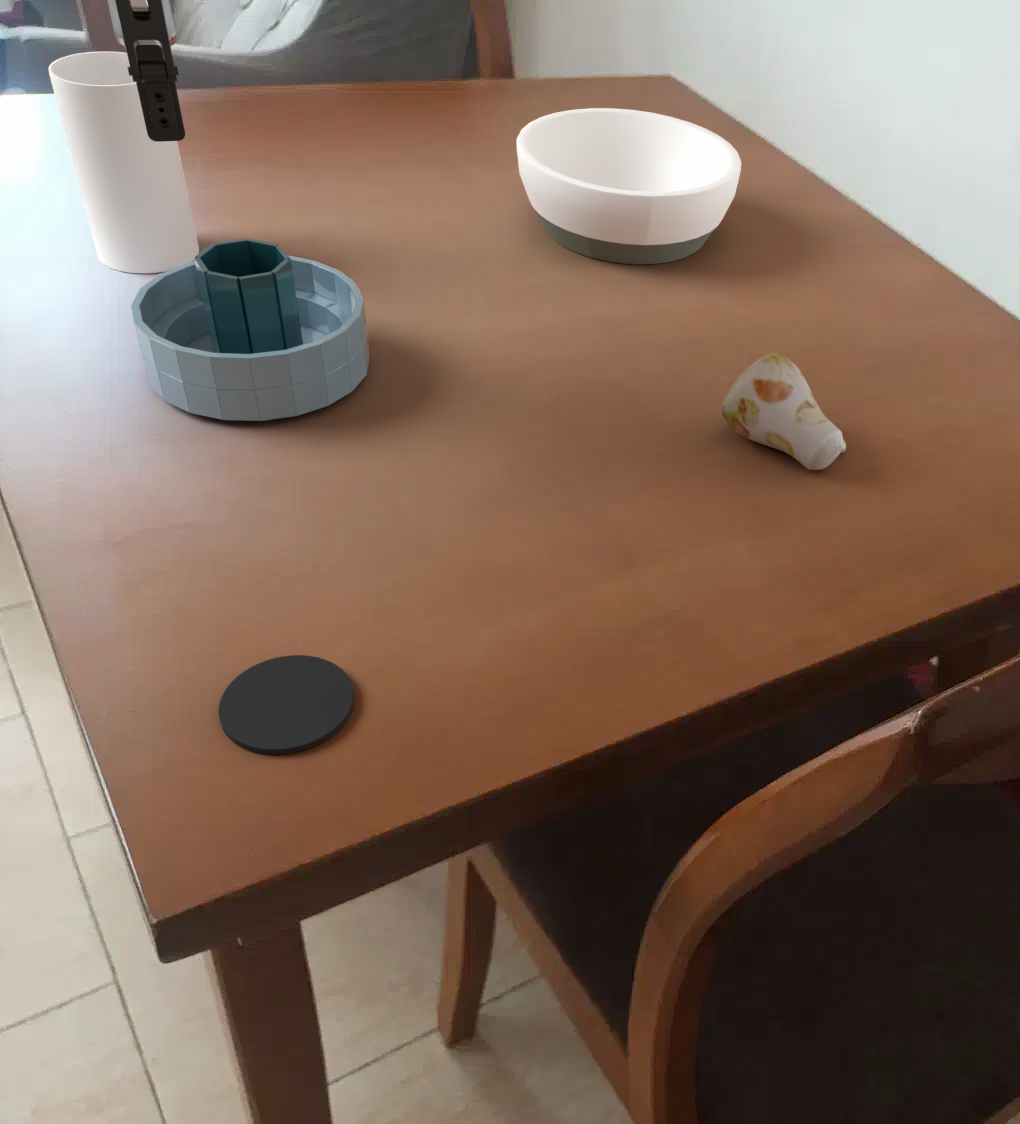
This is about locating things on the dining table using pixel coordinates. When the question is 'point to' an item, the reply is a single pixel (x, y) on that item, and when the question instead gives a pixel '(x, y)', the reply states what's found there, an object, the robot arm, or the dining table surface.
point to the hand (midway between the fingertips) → (162, 114)
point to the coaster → (286, 704)
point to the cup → (123, 167)
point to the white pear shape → (782, 413)
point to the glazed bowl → (261, 378)
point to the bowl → (627, 182)
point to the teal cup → (249, 297)
